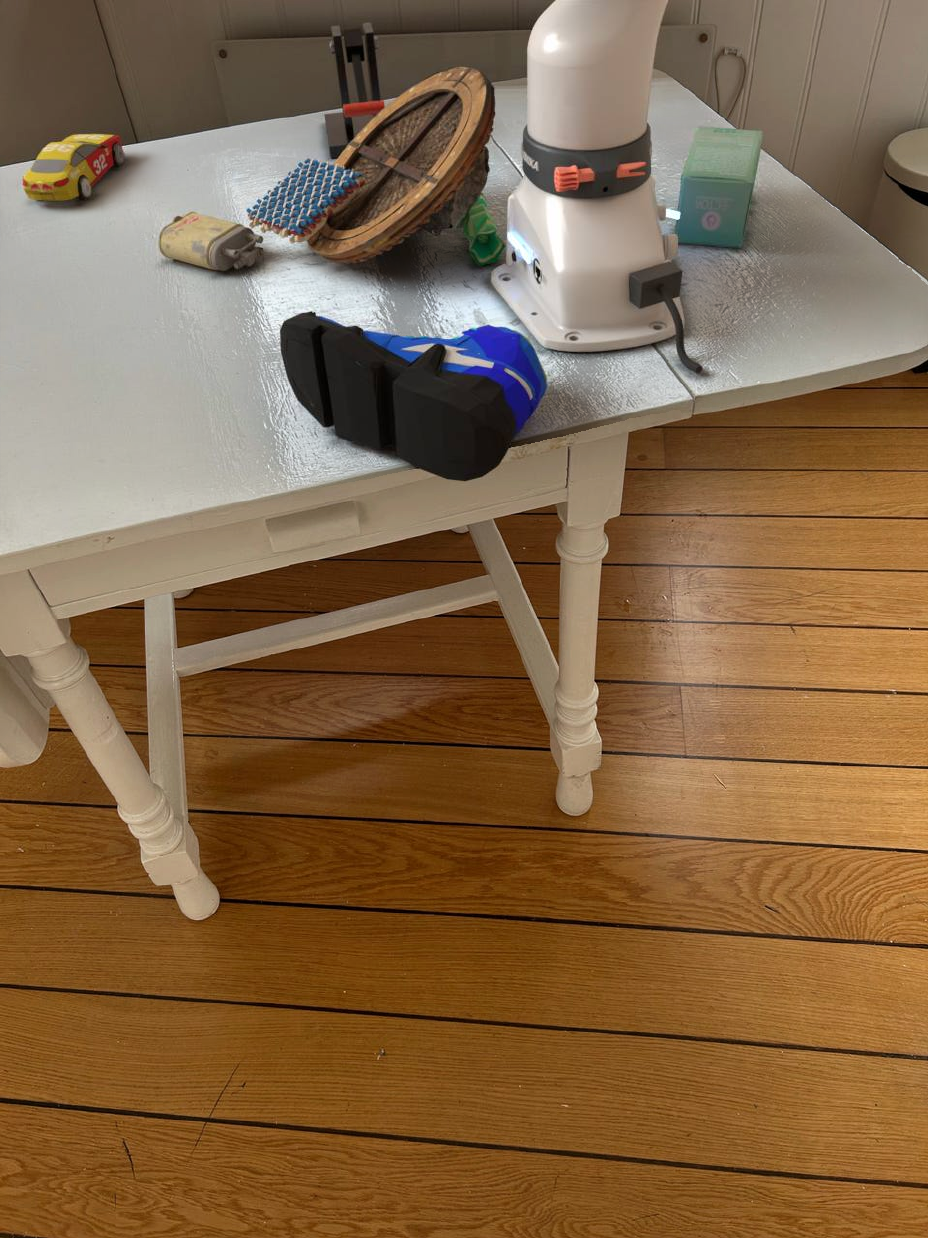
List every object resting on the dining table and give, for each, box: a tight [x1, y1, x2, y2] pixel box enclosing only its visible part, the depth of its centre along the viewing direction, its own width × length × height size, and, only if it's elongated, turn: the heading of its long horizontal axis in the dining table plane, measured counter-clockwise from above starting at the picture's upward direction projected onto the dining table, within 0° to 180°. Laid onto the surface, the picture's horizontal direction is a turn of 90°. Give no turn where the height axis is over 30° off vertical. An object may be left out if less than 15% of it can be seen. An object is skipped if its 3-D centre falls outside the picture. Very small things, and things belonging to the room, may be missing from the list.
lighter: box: [157, 211, 265, 272], centre depth 102 cm, size 7×4×10 cm
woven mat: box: [246, 157, 366, 244], centre depth 99 cm, size 10×11×2 cm
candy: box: [459, 191, 506, 267], centre depth 102 cm, size 12×3×4 cm
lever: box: [342, 27, 386, 118], centre depth 116 cm, size 12×5×2 cm, turn 9°
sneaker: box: [279, 310, 548, 482], centre depth 79 cm, size 9×24×15 cm
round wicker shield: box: [306, 66, 496, 264], centre depth 99 cm, size 25×3×25 cm
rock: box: [419, 145, 491, 239], centre depth 101 cm, size 17×10×10 cm
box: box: [674, 126, 764, 249], centre depth 101 cm, size 7×14×8 cm, turn 164°
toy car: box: [22, 133, 125, 202], centre depth 119 cm, size 8×17×5 cm, turn 171°
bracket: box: [324, 21, 382, 160], centre depth 121 cm, size 12×10×13 cm
